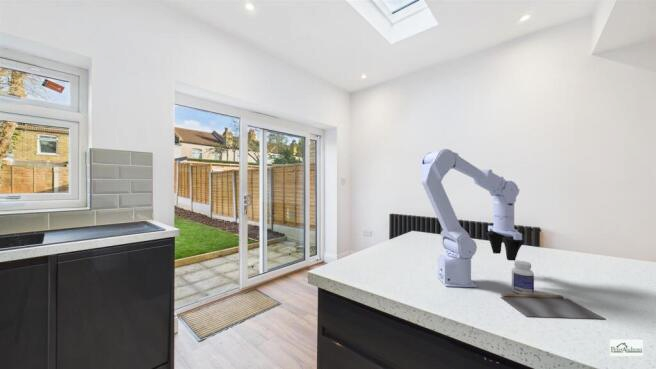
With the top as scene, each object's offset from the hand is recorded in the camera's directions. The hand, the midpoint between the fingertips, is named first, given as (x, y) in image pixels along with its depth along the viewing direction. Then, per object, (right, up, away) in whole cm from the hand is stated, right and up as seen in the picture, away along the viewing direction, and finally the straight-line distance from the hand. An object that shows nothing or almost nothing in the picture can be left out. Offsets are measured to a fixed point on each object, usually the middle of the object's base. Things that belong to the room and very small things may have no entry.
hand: (503, 256), depth 83 cm
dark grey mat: (-1, -8, -18) cm, 20 cm away
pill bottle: (-1, -8, -9) cm, 12 cm away
